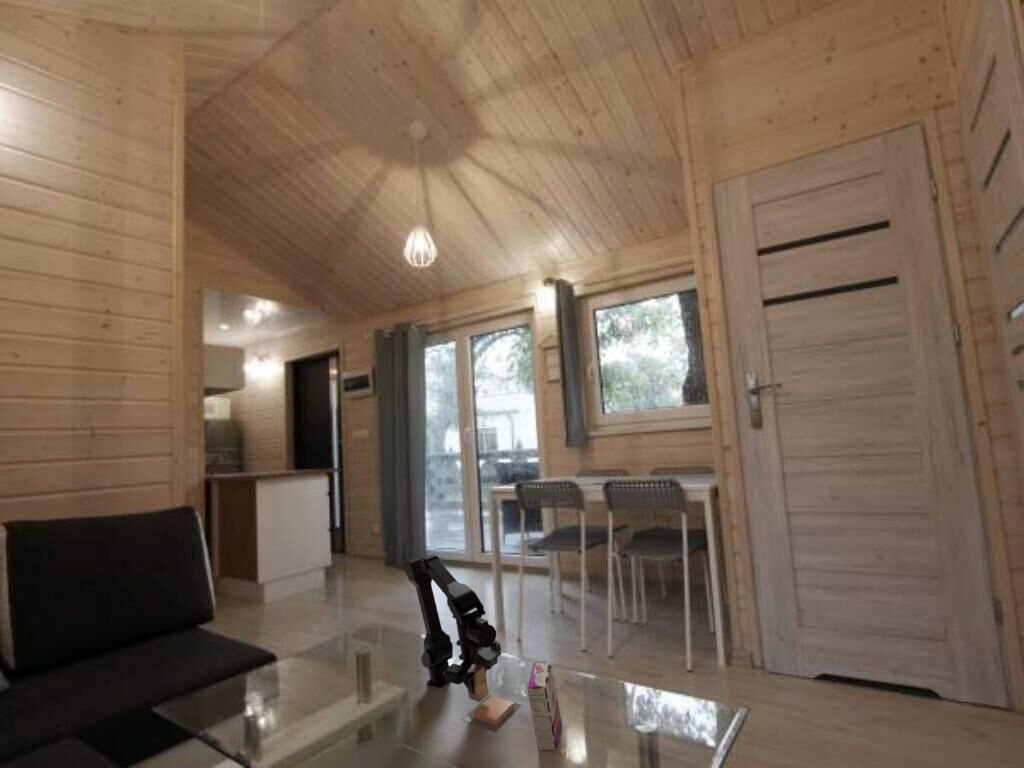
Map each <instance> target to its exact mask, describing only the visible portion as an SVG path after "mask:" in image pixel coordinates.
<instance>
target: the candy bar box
mask: <svg viewBox="0 0 1024 768" xmlns="http://www.w3.org/2000/svg"><path fill="white" fill-rule="evenodd" d="M554 677H555V676H554V673H553V666H552V662H551V661H545V662H544V661H541V662H534V663H533V665H532V670H531V673H530V678H529V682H528V684H527V687H526V688H527V692H528V699H529V705H530V711H531V715H532V722H533V727H534V731H535V732H534V733H535V738H536V743H537V748H538V751H542V752H543V751H544V752H546V751H557V750H558V745H559V744H558V743H559V738H560V731H561V725H562V724H561V723H562V718H561V712H560V707H559V706H560V705H559V700H558V695H557V689H556V684H555V678H554Z"/></svg>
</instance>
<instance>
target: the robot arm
mask: <svg viewBox="0 0 1024 768" xmlns="http://www.w3.org/2000/svg"><path fill="white" fill-rule="evenodd" d="M404 572H405V575H406V576H407V579H408V581H409V582H410V583H411V584H412V585H413V586H414V587H415V590H416V594H417V598H418V602H419V603H418V604H419V606H420V611H421V614H422V620H423V623H424V628H425V632H426V633H425V636H424V639H423V649H424V651H423V653H422V656H421V657H420V660H421V664H422V666H423V667H425V668H426V669H427V670H428V674H429V678H430V679H429V680H427V681H426V684H427V685H429V686H433V687H436V688H440V689H441V688H443V687H444V686H446V685H447V684H448V683H452V684H454V685H461V684H462V683H463V684H464V686H465V687H466V689H467V691H468V690H469V691H470V693H471V694H474V693H475V692H474V682H473V676H474V675H475V673H474V672H472V670H471V666H473V665H474V664H477V665H481V666H482V667H484V669H485V674H486V675H487V673H488V672H487V671H489V670H491V669H492V668H493V667H494V666H495V665H497V664H498V660H499V657H500V656H501V655H502V652H501V651H502V648H501V643H500V642H499V641H498V640H496V638H497V630H496V628H495V627H494V626H493V625H491V624H490V623H489V621H488V620H487V619H486V618H484V619H483V618H482V616H485V615H486V611H485V609H484V608H485V606H484V605H483V603H482V601H481V600H480V598H479V596H478V595H477V593H476V592H475V591H474V590H473V589H472V588H471V587H469V586H468V585H467V584H465V583H460V582H459V581H458V580H457V579H456V578H455V577H454V576H453V575H452V573H451V572H450V571H449V570H448V569H447V568H446V567H445V566H444V564H443V563H442V562H441V561H440V558H439V556H438V555H437V554H430V555H427V554H422V555H419V556H417V557H414V558H412V559H409V560H407V561H406V564H405V565H404ZM432 582H434V583H435V584H436V585H437V587H438V588H439V589H440V591H441V592H442V593H443V594H444V595H445V597H446V604H447V607H448V608H449V610H450V612H451V614H452V618H453V619H454V620H455V624H456V628H457V630H456V631H457V634H458V639H457V640H456V645H457V646H459V647H460V651H461V652H460V654H459V655H458V660H462V662H461V663H460V664H456V663H454V662H453V663H452V664H449V660H451V659H453V657H454V655H453V654H454V653H453V652H454V646H453V642H452V640H451V636H450V635H449V634H448V633H446V632H445V631H444V630H443V629H442V624H441V620H440V616H439V612H438V607H437V602H436V599H435V598H436V597H435V595H434V591H433V586H432ZM475 609H476V610H475ZM473 610H474V611H473Z"/></svg>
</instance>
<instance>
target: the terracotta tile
mask: <svg viewBox="0 0 1024 768" xmlns="http://www.w3.org/2000/svg"><path fill="white" fill-rule="evenodd" d="M497 697H498V696H493V695H491V697H490V698H489V699H487V700H486V701H485V702H484V703H483V704H482V705H481V706H480V707H479V708H478V709H477V710H475V711H474V712H473V713H474V718H476V719H479V720H482V721H485V722H487V723H490V724H493V725H496V726H497V725H498V724H499V723H500V722H501V721H502V720H503V719H504V718H505V717H506V716H507V715H508V714H509V713H510V712H511V711H512V710H513V709H514V703H515V702H514V701H511V702H510V700H507V699H503V698H501V697H498V698H497ZM513 702H514V703H513Z"/></svg>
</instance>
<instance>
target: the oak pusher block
mask: <svg viewBox="0 0 1024 768" xmlns="http://www.w3.org/2000/svg"><path fill="white" fill-rule="evenodd" d="M471 670H472V672H474V673H475V675H474V676H473V682H474V692H475V693H474V694H471V693H470V691H469V690H468V689H467V694H468V699H470V700H473V701H476V702H478V703H481V702H482V701H483V700H484V699H485V698H486V697H487V696H488V695H490V693H489V688H488V687H489V685H488V681H487V673H486V674H485V669H484V667H482V666H481V665H477V664H474V665H473V666H471Z"/></svg>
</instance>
